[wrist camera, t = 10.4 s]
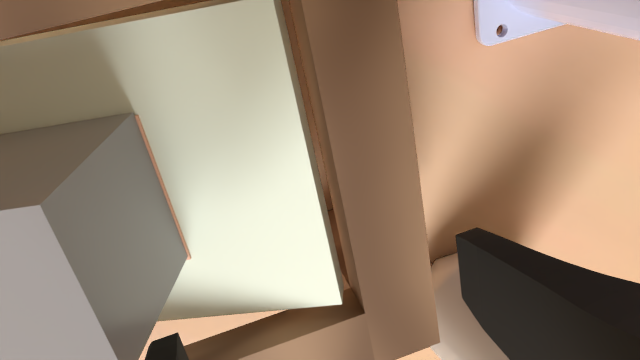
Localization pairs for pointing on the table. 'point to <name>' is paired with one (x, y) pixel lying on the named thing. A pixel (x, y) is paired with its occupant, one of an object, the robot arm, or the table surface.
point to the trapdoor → (200, 142)
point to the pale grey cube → (82, 242)
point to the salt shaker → (458, 318)
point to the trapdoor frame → (333, 184)
